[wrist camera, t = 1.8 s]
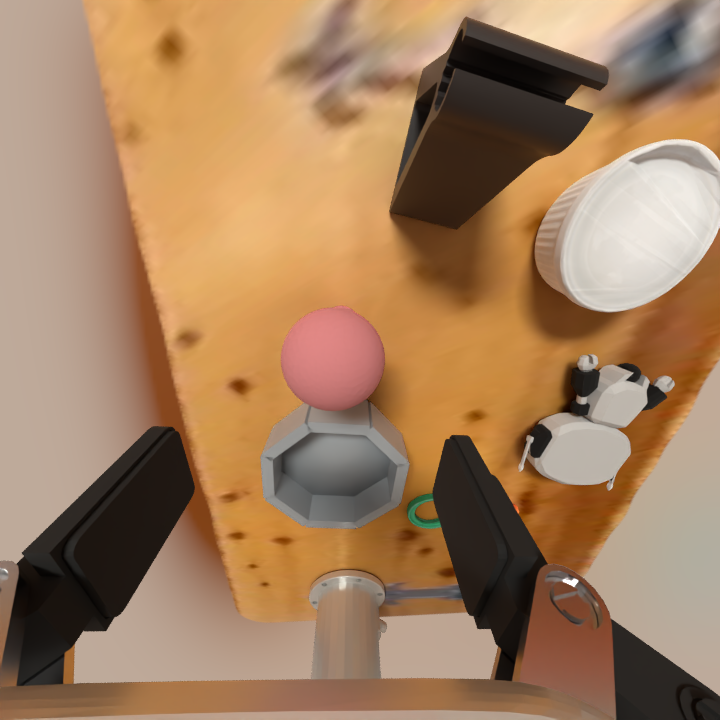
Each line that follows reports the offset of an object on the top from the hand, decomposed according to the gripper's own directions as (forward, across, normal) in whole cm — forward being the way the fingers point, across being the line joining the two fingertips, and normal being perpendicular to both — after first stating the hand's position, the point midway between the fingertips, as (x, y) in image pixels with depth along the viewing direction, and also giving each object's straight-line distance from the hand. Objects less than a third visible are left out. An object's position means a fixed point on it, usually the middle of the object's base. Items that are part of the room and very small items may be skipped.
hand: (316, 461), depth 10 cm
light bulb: (+18, 0, +1) cm, 19 cm away
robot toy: (+19, -28, +10) cm, 35 cm away
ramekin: (+19, -22, -8) cm, 30 cm away
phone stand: (+19, -8, -13) cm, 24 cm away
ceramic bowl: (+18, 0, +17) cm, 25 cm away
